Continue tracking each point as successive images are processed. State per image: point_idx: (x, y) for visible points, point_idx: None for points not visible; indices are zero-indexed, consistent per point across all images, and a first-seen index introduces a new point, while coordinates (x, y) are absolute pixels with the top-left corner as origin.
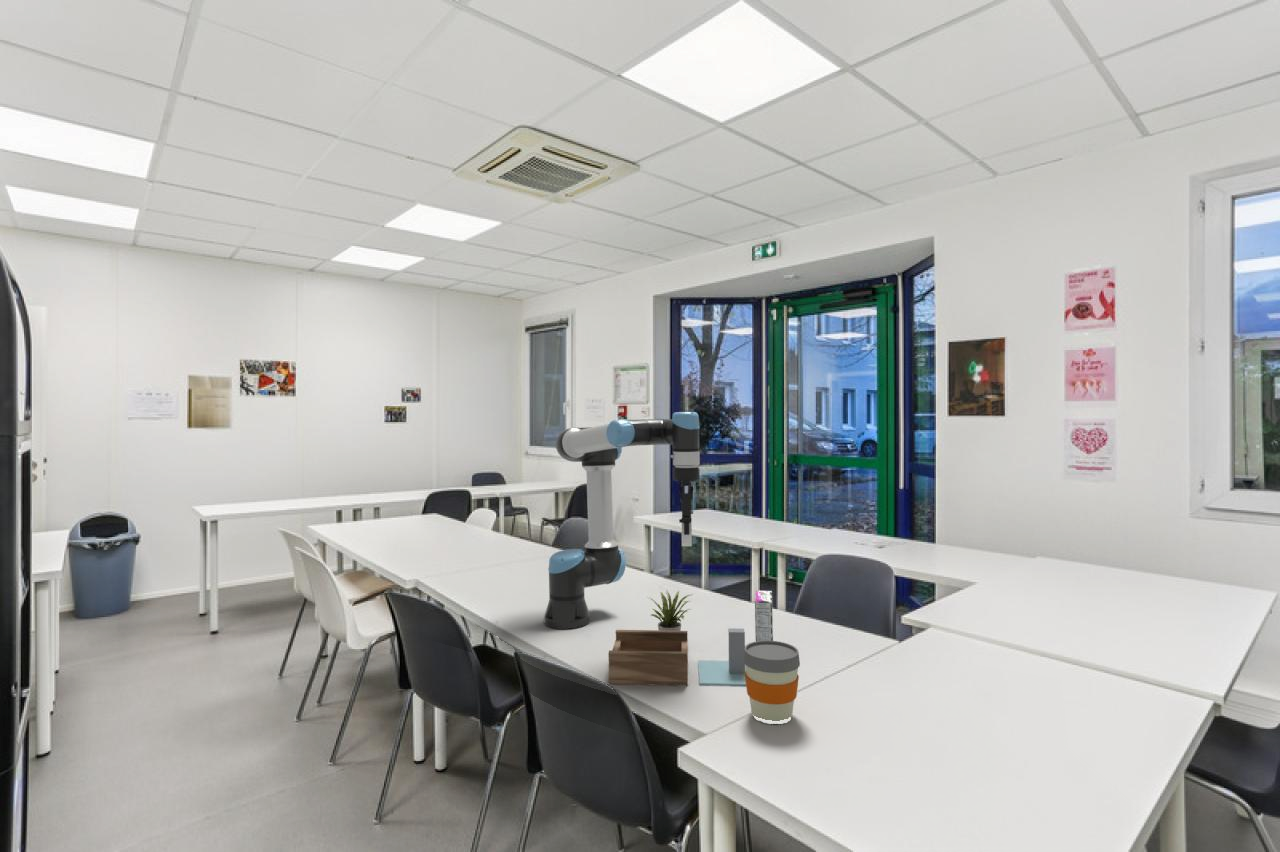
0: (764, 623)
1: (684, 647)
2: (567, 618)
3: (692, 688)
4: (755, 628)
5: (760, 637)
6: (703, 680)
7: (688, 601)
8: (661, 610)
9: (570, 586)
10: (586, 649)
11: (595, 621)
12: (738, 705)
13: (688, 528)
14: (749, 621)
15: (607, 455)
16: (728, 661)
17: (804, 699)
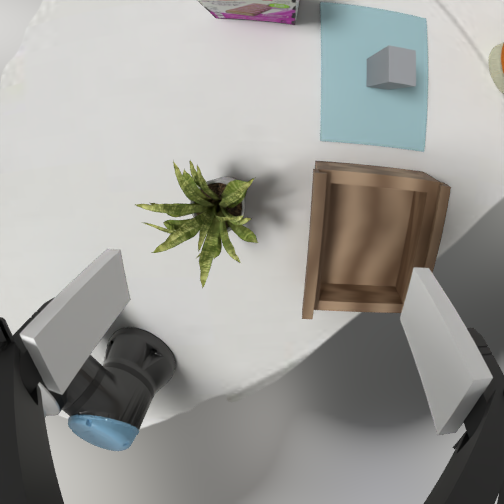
0: None
1: (365, 179)
2: (166, 366)
3: (433, 165)
4: (279, 8)
5: (297, 4)
6: (414, 143)
7: (199, 175)
8: (208, 237)
9: (139, 399)
10: (257, 330)
11: (128, 319)
12: (486, 106)
13: (491, 362)
14: (84, 43)
15: None
16: (325, 80)
17: (462, 3)
